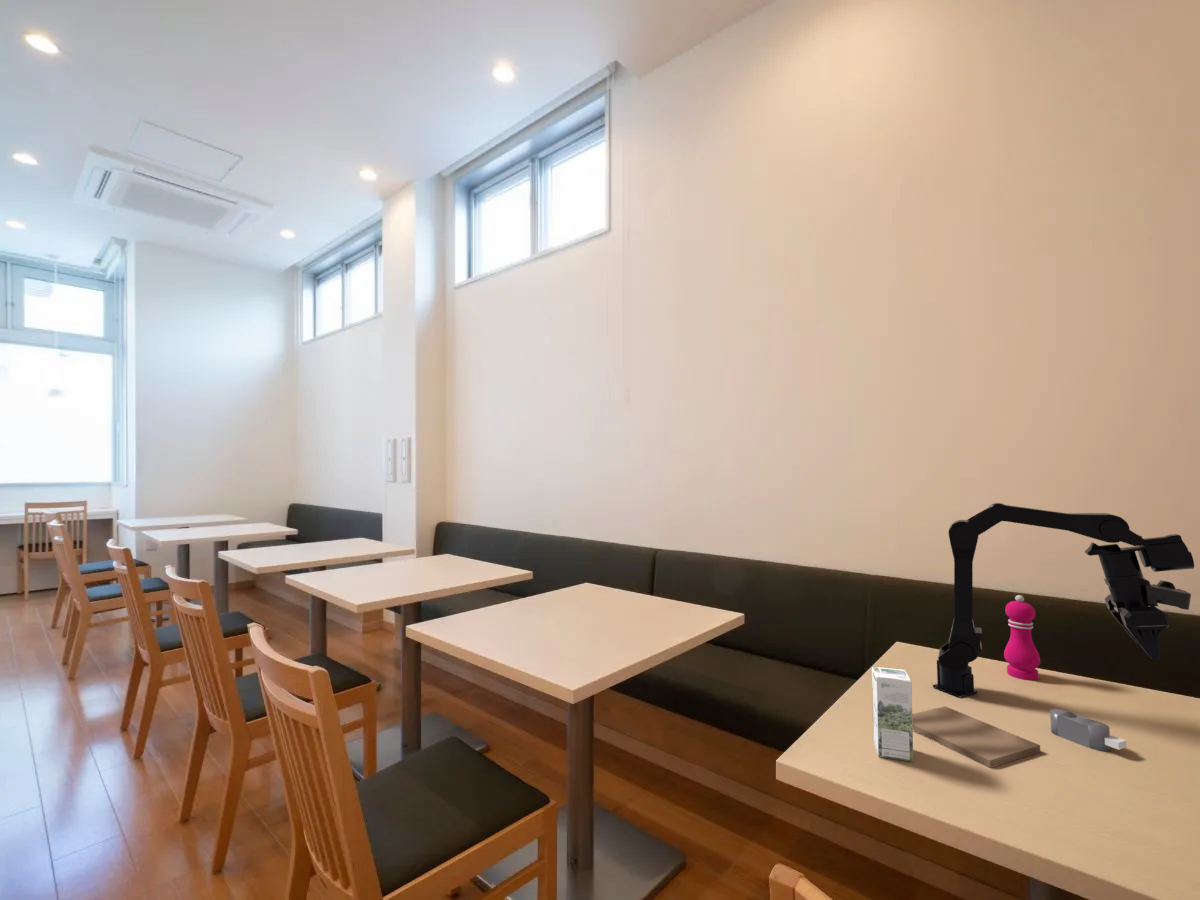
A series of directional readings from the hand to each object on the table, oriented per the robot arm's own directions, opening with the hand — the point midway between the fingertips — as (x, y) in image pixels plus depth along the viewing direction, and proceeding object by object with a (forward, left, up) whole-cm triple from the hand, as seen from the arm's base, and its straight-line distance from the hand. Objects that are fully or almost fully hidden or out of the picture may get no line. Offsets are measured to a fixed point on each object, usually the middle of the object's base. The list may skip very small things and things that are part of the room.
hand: (1148, 652), depth 109 cm
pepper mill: (-28, +7, -15) cm, 32 cm away
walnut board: (-11, -38, -15) cm, 43 cm away
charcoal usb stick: (-3, -19, -15) cm, 24 cm away
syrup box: (-12, -56, -15) cm, 60 cm away
